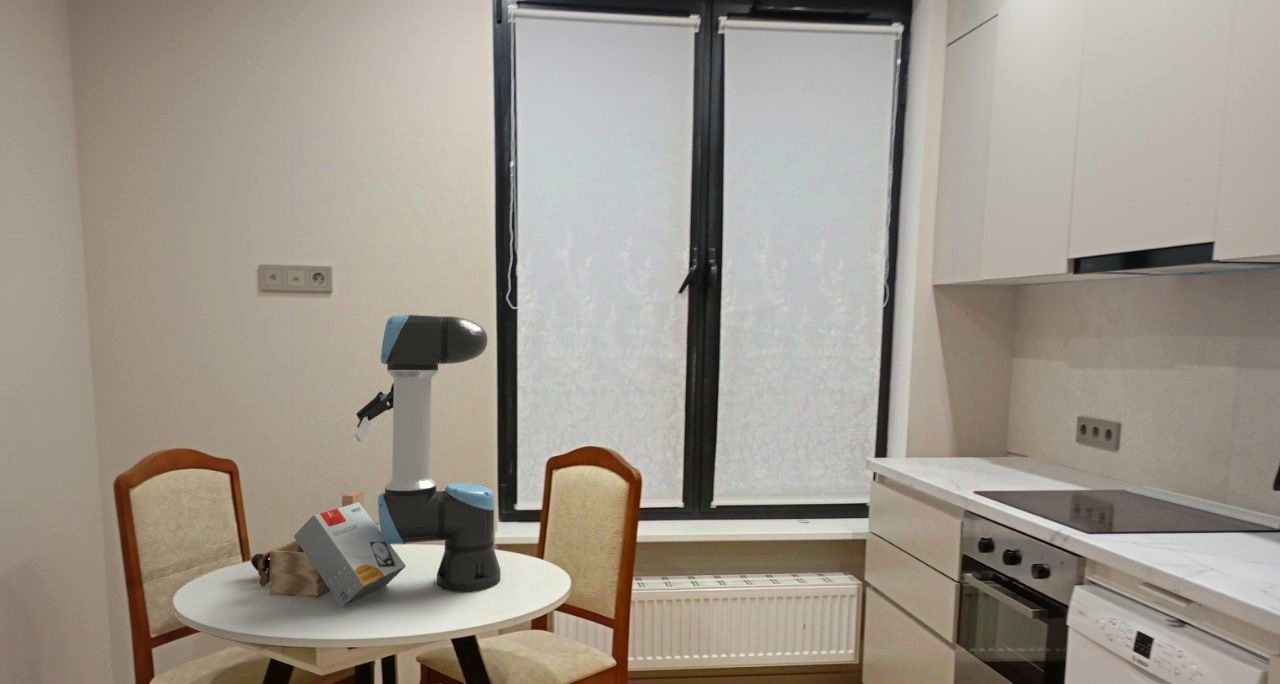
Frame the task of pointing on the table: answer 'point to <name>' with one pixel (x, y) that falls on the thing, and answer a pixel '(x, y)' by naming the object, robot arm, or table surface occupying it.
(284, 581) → the carton
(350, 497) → the lid
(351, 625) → the table surface
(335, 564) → the hard drive box
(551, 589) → the table surface
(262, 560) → the pottery mug
